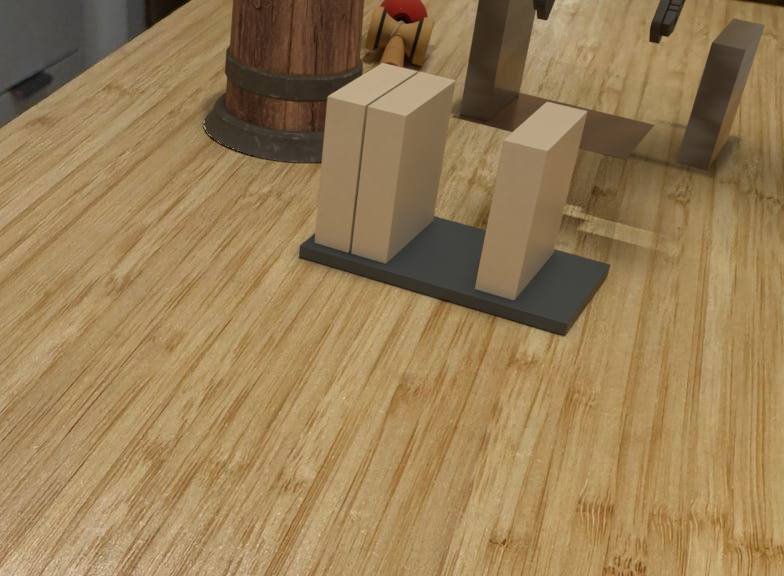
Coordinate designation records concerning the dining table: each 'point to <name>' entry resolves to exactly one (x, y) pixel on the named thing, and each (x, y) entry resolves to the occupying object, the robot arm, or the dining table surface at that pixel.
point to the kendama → (400, 31)
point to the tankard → (285, 75)
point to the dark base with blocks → (418, 205)
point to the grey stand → (601, 130)
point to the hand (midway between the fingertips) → (596, 24)
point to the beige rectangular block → (529, 198)
